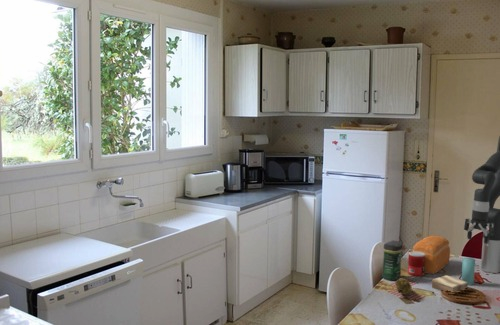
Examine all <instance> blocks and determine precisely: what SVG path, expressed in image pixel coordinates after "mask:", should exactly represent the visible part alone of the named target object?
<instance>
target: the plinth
mask: <svg viewBox="0 0 500 325" xmlns="http://www.w3.org/2000/svg"><path fill="white" fill-rule="evenodd" d="M431 282H432V284H431V288H432V289H435V290H437V291H440V292H442V291H441V290H448V291H451V292H456V291H460V290H463V289H465V288H467V289H468V285H467V282H466V281H463V280H462V279H460V278H457V277H453V276H450V275H444V276H443V275H442V276H440V277H436V278H433V279H432V281H431Z"/></svg>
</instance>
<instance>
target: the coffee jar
mask: <svg viewBox="0 0 500 325" xmlns="http://www.w3.org/2000/svg"><path fill="white" fill-rule="evenodd" d="M402 251H403V244H402V243H401V241H398V240H393V239H392V240H391V241H387V242H385V243H384V244H383V260H382V261H383V262H382V270H381V271H382V272H381V274H382V275H381V278H383V279H385V280H387V281H397V280H398V279H401V273H402V272H401V270H402V268H401V264H402Z"/></svg>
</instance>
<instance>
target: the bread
mask: <svg viewBox="0 0 500 325" xmlns="http://www.w3.org/2000/svg"><path fill="white" fill-rule="evenodd" d="M449 245H450V242H449V240H448V239H447V238H445V237H444V236H440V235H439V236H438V235H429V236H426V237H425V238H422V239H421V240H420V241H417V242H416V243H415V244H414V245H413V247H412V251H417V252H422V253H424V254H425V268H424V274H429V275H433V274H434V275H435V274H437V272H439V271H440V270H442V269H443V268H444V267H446V266H447V265H448V264H449V262H450V253H451V248H450V246H449Z"/></svg>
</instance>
